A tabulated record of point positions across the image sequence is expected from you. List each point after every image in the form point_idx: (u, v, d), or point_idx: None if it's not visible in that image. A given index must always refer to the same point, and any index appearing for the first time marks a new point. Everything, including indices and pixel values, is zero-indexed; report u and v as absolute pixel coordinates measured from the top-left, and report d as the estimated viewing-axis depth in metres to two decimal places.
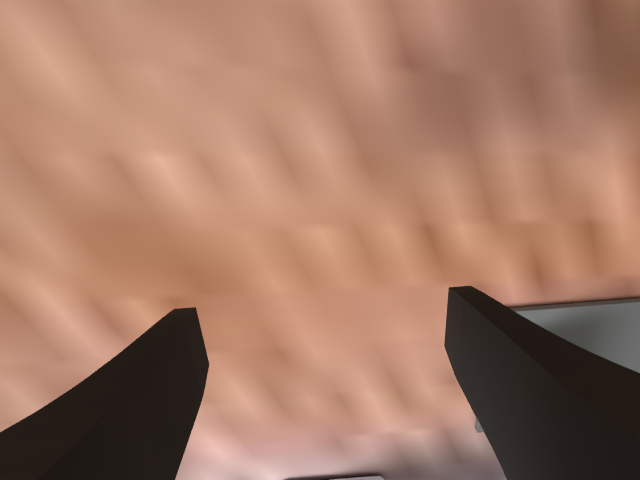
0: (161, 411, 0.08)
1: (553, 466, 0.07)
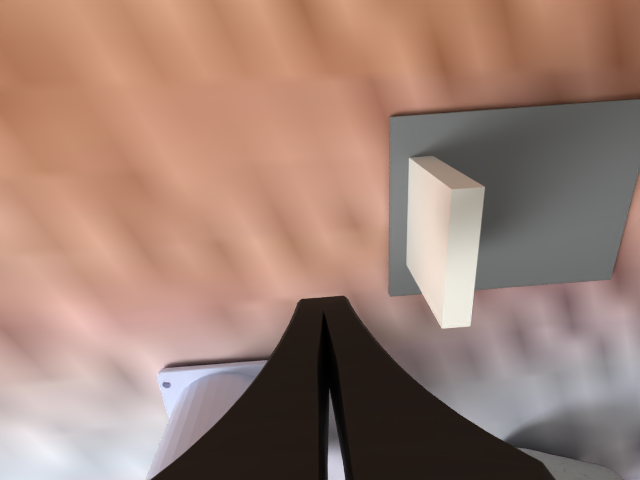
0: (322, 398, 0.08)
1: None
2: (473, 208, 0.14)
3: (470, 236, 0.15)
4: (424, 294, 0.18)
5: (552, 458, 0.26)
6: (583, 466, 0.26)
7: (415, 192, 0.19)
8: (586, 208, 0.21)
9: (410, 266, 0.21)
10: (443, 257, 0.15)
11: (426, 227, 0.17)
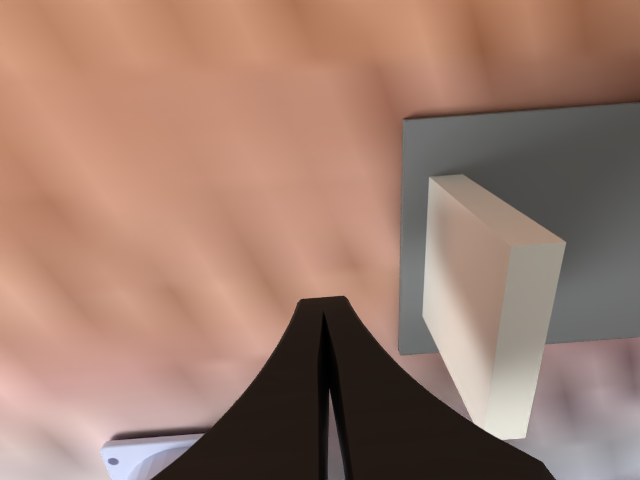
0: (322, 398, 0.08)
1: None
2: (544, 275, 0.09)
3: (535, 316, 0.09)
4: (451, 372, 0.13)
5: None
6: None
7: (438, 227, 0.13)
8: None
9: (428, 321, 0.15)
10: (488, 342, 0.10)
11: (457, 284, 0.12)
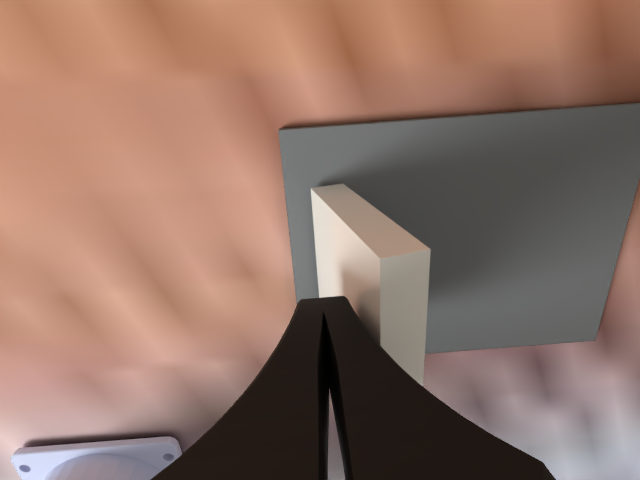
0: (322, 398, 0.08)
1: None
2: (415, 283, 0.09)
3: (413, 323, 0.09)
4: None
5: None
6: None
7: (323, 239, 0.13)
8: (561, 252, 0.15)
9: None
10: None
11: (344, 295, 0.12)
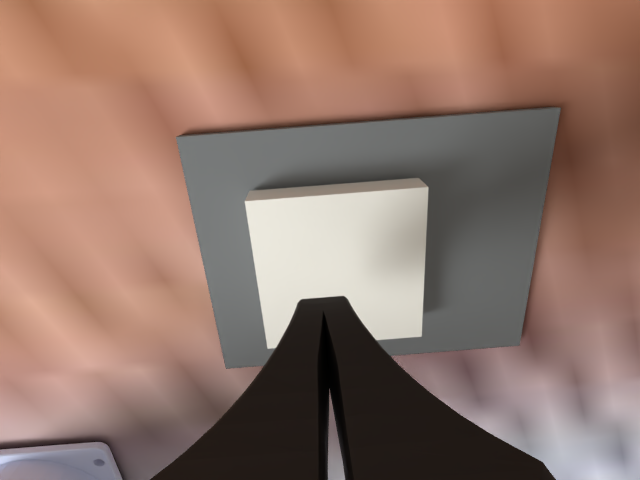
0: (322, 398, 0.08)
1: None
2: None
3: None
4: None
5: None
6: None
7: (290, 238, 0.13)
8: (475, 257, 0.15)
9: None
10: (413, 266, 0.14)
11: (348, 262, 0.14)
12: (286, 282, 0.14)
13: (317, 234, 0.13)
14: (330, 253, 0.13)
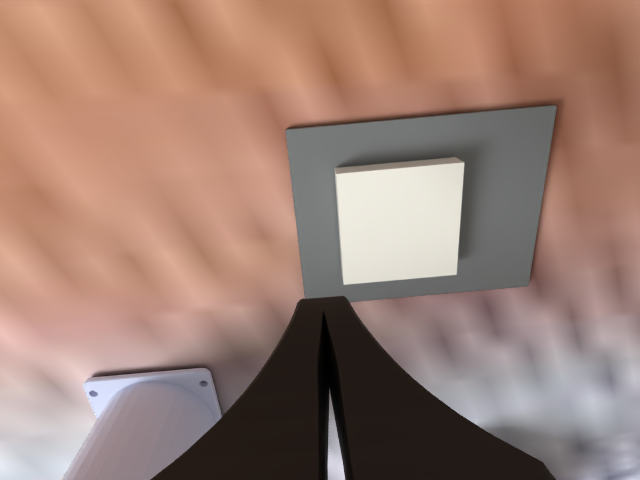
0: (322, 398, 0.08)
1: None
2: None
3: None
4: (409, 276, 0.20)
5: None
6: None
7: (366, 200, 0.19)
8: (495, 216, 0.21)
9: (358, 278, 0.20)
10: (452, 220, 0.19)
11: (406, 217, 0.19)
12: (361, 233, 0.19)
13: (385, 197, 0.19)
14: (393, 211, 0.19)
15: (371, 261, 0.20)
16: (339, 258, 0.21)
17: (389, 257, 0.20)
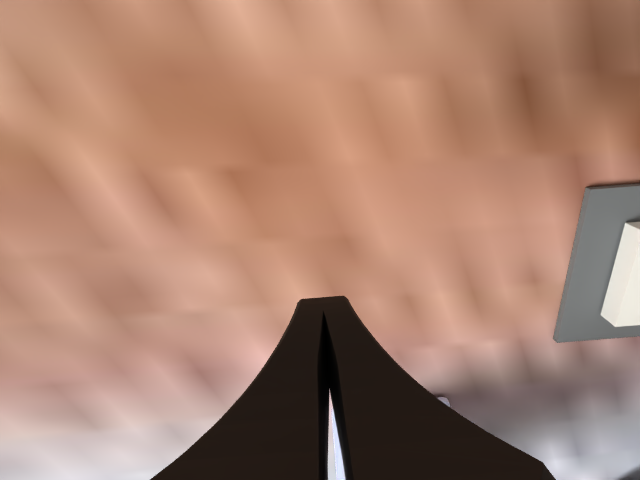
0: (322, 398, 0.08)
1: None
2: None
3: None
4: None
5: None
6: None
7: None
8: None
9: (629, 321, 0.22)
10: None
11: None
12: None
13: None
14: None
15: None
16: (600, 301, 0.23)
17: None
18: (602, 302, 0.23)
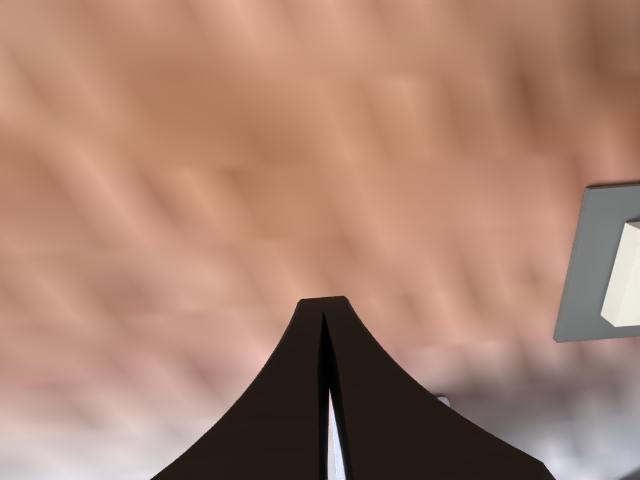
0: (322, 398, 0.08)
1: None
2: None
3: None
4: None
5: None
6: None
7: None
8: None
9: (629, 321, 0.22)
10: None
11: None
12: None
13: None
14: None
15: None
16: (600, 301, 0.23)
17: None
18: (602, 302, 0.23)
